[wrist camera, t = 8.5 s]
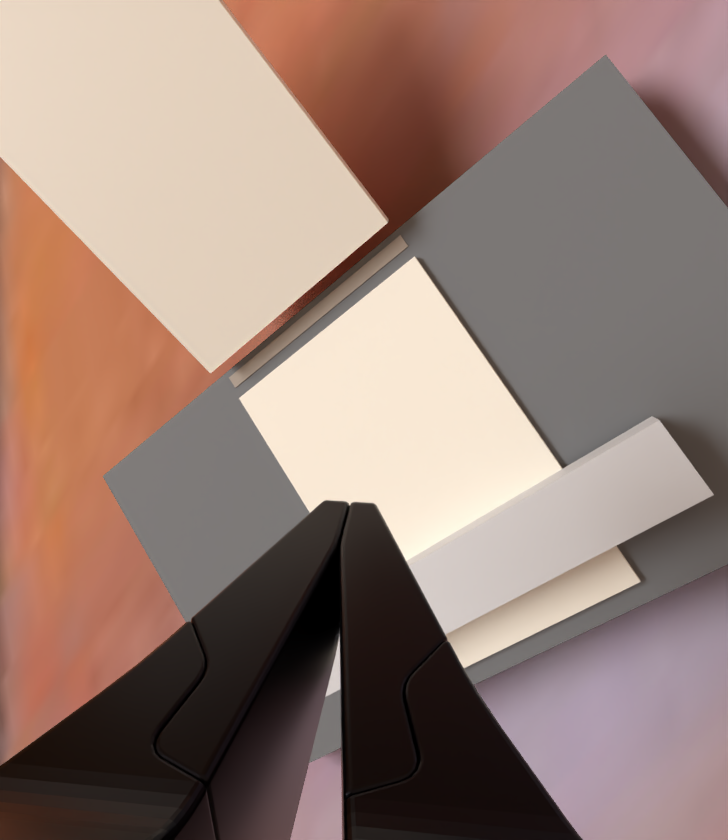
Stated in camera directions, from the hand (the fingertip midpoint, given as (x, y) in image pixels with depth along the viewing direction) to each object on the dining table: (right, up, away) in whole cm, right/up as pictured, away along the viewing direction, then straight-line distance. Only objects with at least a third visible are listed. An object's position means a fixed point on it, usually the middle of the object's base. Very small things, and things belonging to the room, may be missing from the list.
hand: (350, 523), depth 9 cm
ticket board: (+2, 0, +9) cm, 9 cm away
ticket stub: (-2, +5, +8) cm, 9 cm away
